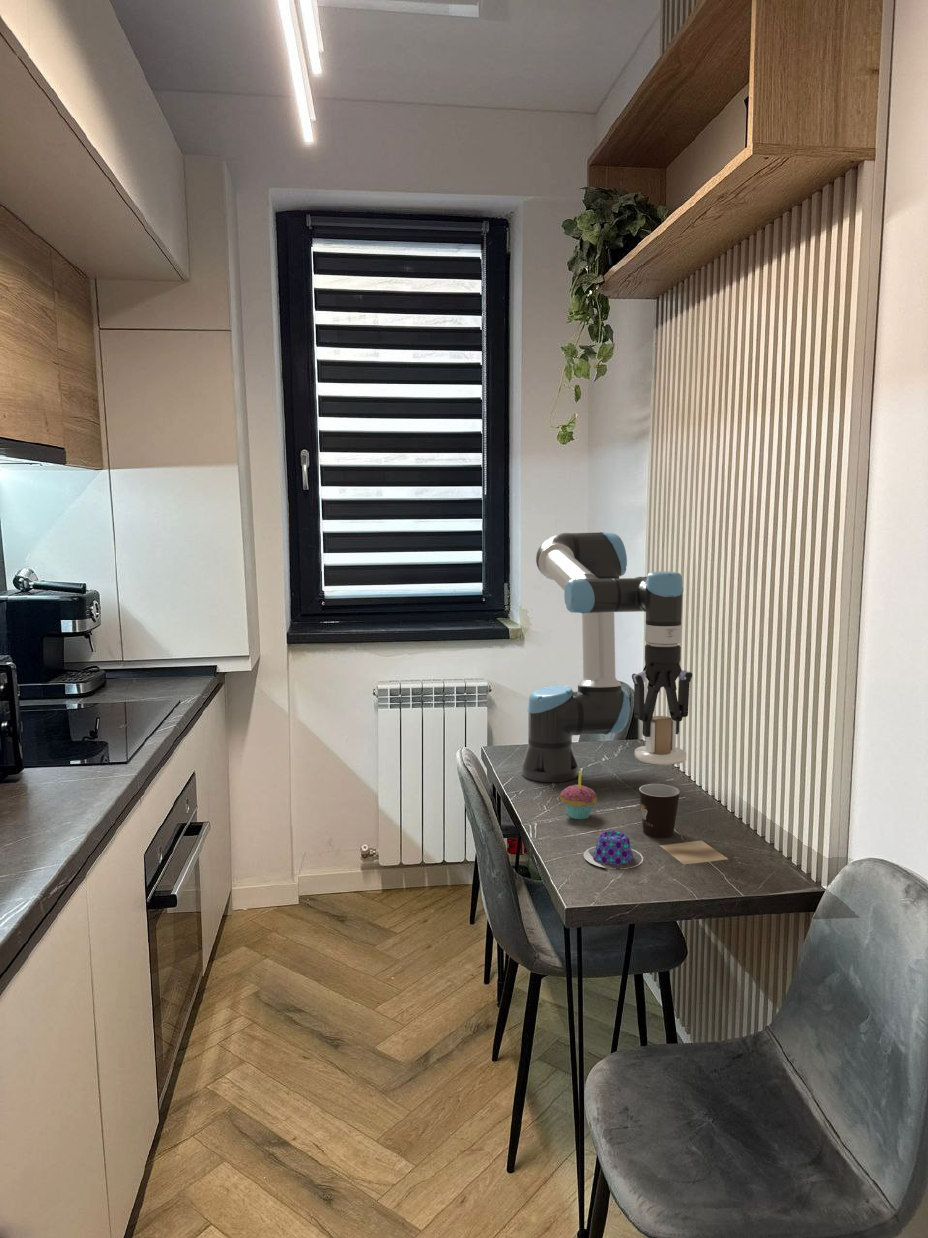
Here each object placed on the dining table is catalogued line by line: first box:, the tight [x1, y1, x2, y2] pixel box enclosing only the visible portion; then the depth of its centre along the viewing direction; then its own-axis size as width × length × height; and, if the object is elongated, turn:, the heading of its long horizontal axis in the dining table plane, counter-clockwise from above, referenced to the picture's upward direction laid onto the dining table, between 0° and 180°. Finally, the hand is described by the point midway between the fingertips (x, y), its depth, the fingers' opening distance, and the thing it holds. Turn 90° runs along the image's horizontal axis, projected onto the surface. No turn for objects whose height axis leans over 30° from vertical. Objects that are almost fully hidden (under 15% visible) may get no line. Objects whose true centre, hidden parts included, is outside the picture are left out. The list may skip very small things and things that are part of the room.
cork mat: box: [659, 840, 729, 866], centre depth 174 cm, size 10×10×1 cm
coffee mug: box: [638, 783, 681, 839], centre depth 185 cm, size 12×9×10 cm
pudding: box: [583, 830, 644, 870], centre depth 172 cm, size 12×12×5 cm
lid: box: [634, 715, 687, 766], centre depth 183 cm, size 11×11×9 cm
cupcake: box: [559, 768, 598, 820], centre depth 195 cm, size 9×8×12 cm
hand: (660, 749), depth 184 cm, fingers closed on lid, 4 cm apart
